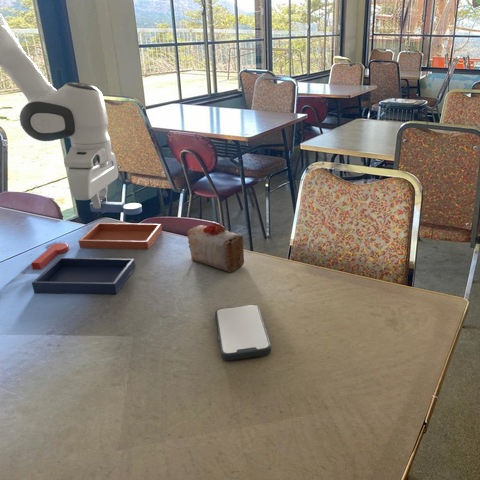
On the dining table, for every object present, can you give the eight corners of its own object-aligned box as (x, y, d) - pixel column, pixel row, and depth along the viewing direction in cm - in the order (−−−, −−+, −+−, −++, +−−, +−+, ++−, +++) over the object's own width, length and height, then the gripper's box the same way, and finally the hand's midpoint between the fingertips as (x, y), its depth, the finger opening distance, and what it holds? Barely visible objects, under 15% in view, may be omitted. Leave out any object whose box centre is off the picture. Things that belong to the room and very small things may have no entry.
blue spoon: (88, 213, 122) (87, 205, 121) (96, 207, 126) (94, 199, 125) (138, 215, 122) (137, 207, 121) (144, 209, 126) (143, 201, 125)
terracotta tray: (80, 249, 122) (78, 240, 121) (99, 231, 133) (98, 222, 132) (148, 250, 122) (147, 241, 121) (162, 232, 133) (161, 223, 132)
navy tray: (34, 293, 101) (31, 282, 100) (61, 267, 113) (59, 257, 112) (116, 294, 102) (114, 284, 101) (135, 268, 113) (134, 258, 112)
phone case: (214, 315, 96) (221, 363, 82) (214, 308, 95) (221, 355, 81) (258, 310, 98) (272, 356, 84) (258, 303, 97) (272, 348, 83)
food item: (184, 261, 117) (181, 223, 113) (207, 250, 123) (204, 214, 119) (227, 275, 111) (225, 236, 107) (249, 263, 117) (248, 225, 113)
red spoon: (47, 271, 110) (45, 263, 109) (27, 271, 110) (25, 262, 109) (72, 248, 122) (70, 240, 121) (54, 248, 122) (52, 240, 121)
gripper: (96, 142, 127) (103, 192, 133) (59, 162, 108) (70, 219, 114) (120, 143, 127) (127, 193, 133) (88, 163, 109) (96, 220, 114)
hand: (100, 205), depth 123 cm, fingers closed on blue spoon, 2 cm apart
